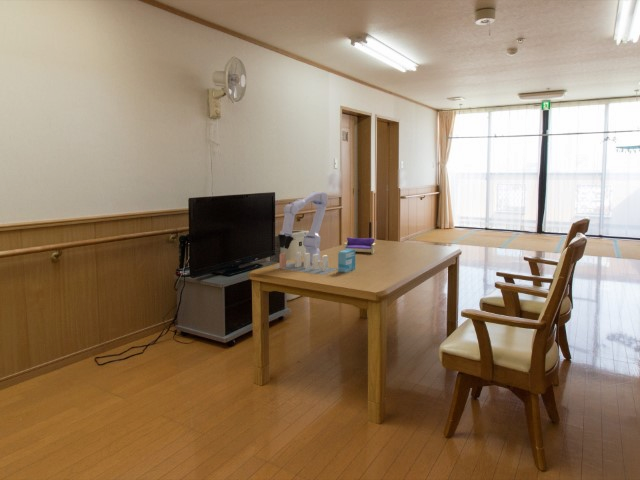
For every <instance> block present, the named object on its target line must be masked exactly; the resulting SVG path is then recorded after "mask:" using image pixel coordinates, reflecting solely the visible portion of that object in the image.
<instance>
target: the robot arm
mask: <svg viewBox="0 0 640 480" xmlns="http://www.w3.org/2000/svg"><path fill="white" fill-rule="evenodd" d="M328 201H329V196H328V193H327V192H325V191H312V192H310V193H309V194H308V195H306V196H305V197H304V198H297V199H296V200H295V201H294V202H293V201H292V202H291V203H290V204H289V203H288V204H286V205H285V206H284V207H283V212H284V214H283V216H284V219H283V223H282V230H280V231H279V234H277V238H278V240H279V241H278V242H279V248H282V249H287V250H288V249H289V248H290V246H291V244H292V241H293V240H294V238H295V237H293V233H292V232H293V227H294V222H295V217H296V215H297V214H298V213H299V211H301V210H302V209H304V208H305V206H306V205H308V204H309V203H313V205H314V206H315V207H316V209H315V214H314V216H313V220H312V223H311V227H310V230H309V232H307V233H306V234H305V236H304V238H303V240H302V245H303V246H304V248H305V254H306V253H310V265H311V264H312V255H315V254H319V263H321V250H320V245H321V238H322V237H321V236H320V235H319V232H320V230H321V226H322V223H323V219H324V216H325V213H326V209H327V204H328Z"/></svg>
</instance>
